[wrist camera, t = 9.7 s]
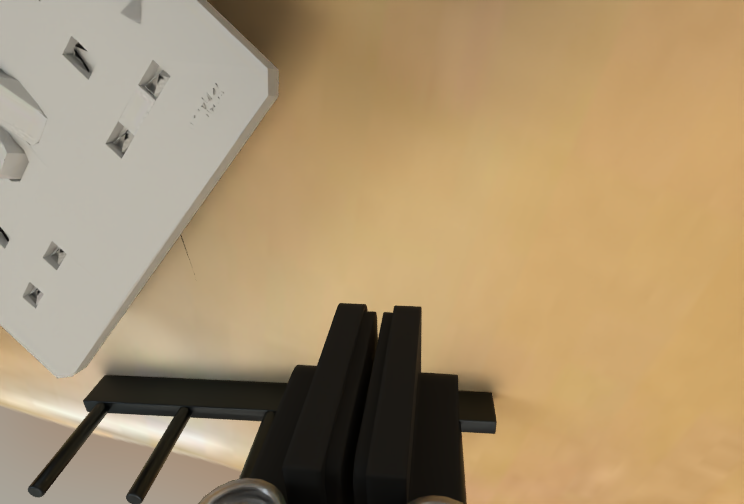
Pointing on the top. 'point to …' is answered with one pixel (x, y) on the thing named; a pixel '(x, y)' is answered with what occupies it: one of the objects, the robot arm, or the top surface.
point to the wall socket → (109, 154)
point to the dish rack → (209, 403)
